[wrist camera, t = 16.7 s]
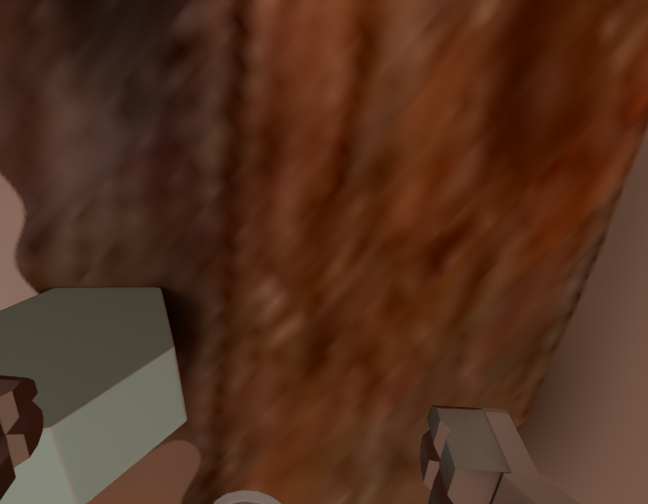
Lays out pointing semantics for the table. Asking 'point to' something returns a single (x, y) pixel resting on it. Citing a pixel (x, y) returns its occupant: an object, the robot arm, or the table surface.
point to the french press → (246, 498)
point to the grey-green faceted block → (91, 386)
